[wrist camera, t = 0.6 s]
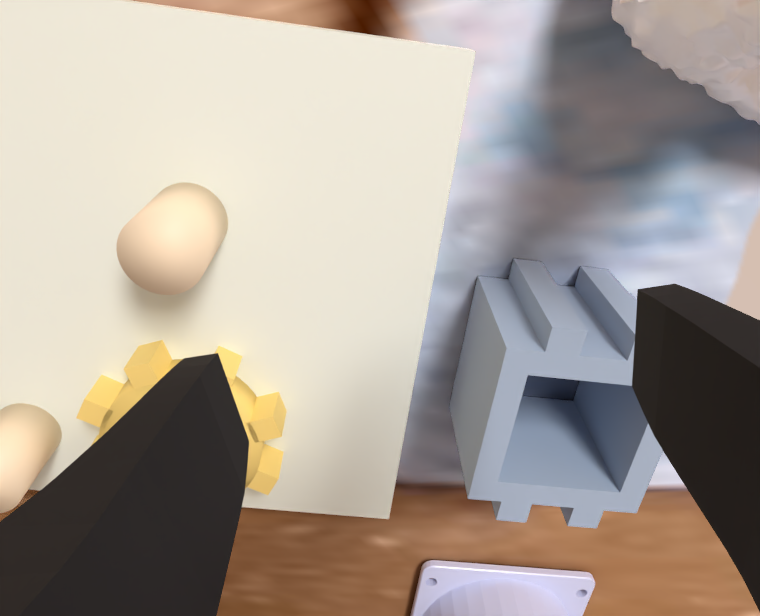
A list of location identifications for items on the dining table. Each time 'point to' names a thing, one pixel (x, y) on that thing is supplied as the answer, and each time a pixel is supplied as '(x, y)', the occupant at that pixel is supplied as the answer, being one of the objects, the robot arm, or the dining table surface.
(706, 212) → the dining table surface
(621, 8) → the sitting furry creature
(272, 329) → the board
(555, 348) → the ridged hollow box frame
